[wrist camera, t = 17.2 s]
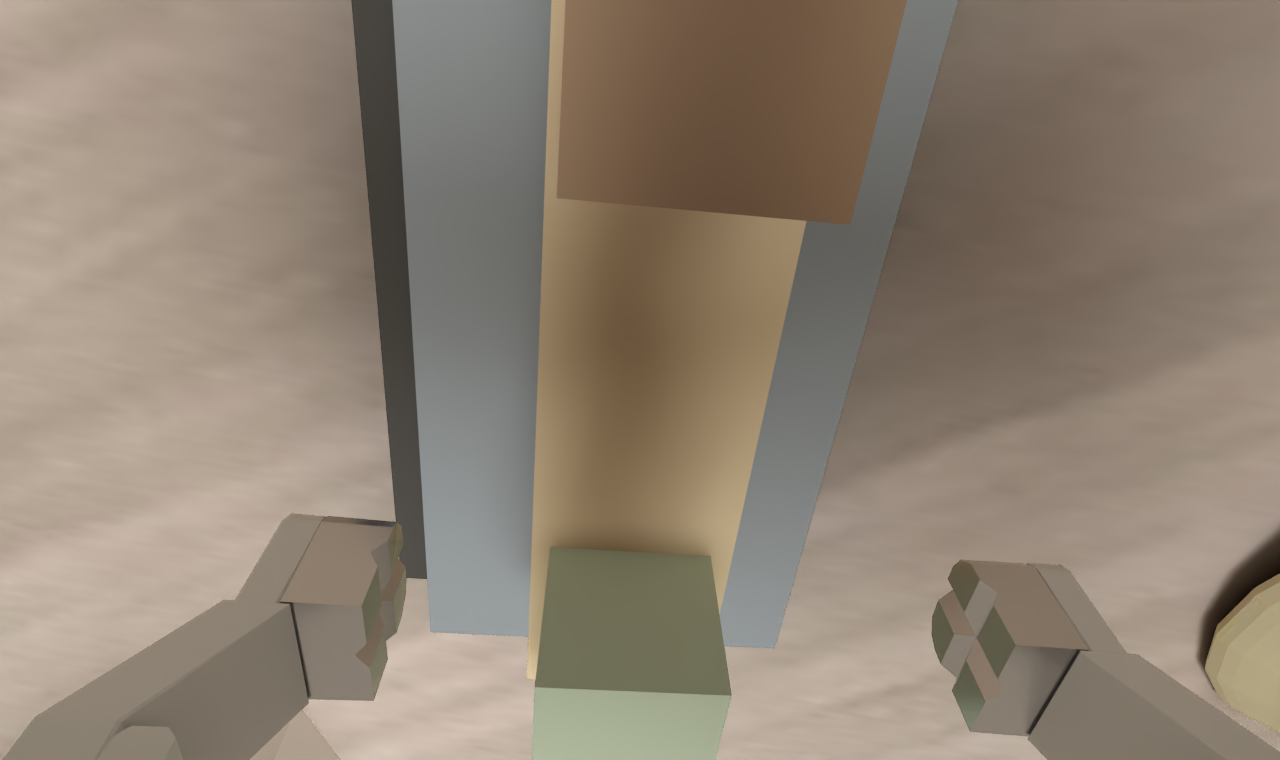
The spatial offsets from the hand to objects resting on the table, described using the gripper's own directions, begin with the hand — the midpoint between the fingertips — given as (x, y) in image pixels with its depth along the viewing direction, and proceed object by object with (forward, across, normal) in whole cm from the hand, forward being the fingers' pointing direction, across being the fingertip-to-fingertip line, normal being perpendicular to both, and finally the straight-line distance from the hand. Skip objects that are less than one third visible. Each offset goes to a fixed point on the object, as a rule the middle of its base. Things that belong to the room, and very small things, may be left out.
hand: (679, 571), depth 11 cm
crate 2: (+6, 0, -7) cm, 9 cm away
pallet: (+10, 0, 0) cm, 10 cm away
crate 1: (+6, 0, +7) cm, 9 cm away
